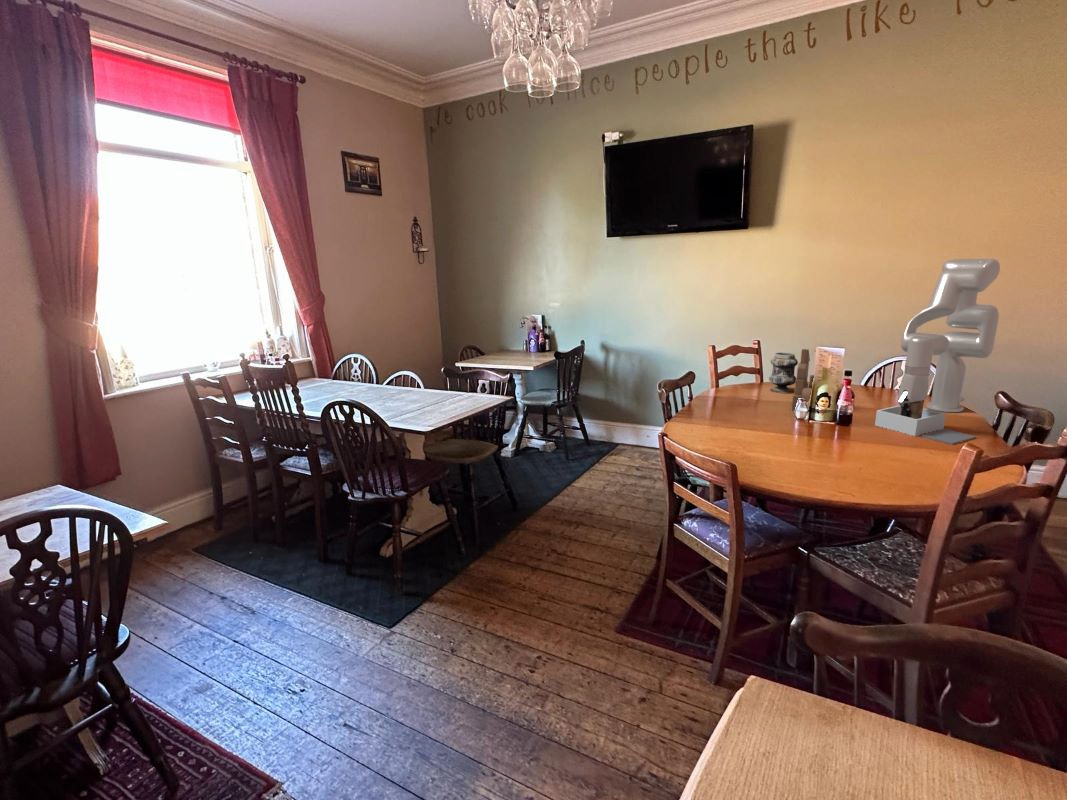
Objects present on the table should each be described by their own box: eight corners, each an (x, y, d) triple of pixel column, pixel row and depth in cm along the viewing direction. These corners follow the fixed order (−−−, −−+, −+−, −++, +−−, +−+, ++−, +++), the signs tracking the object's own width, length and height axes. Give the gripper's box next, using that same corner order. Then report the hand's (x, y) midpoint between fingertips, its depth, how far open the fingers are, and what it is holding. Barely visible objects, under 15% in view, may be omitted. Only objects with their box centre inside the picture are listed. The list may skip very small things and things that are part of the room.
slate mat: (944, 430, 197) (945, 428, 197) (976, 438, 188) (976, 436, 188) (920, 436, 191) (921, 435, 191) (951, 444, 182) (952, 443, 182)
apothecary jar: (799, 389, 260) (802, 352, 255) (790, 395, 251) (793, 356, 247) (773, 386, 268) (776, 350, 263) (763, 391, 259) (766, 354, 255)
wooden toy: (809, 412, 224) (815, 352, 217) (791, 410, 227) (797, 351, 221) (815, 403, 236) (821, 347, 229) (799, 402, 239) (804, 346, 233)
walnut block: (906, 419, 204) (909, 398, 202) (920, 422, 200) (923, 401, 198) (898, 421, 202) (901, 400, 200) (912, 424, 198) (915, 403, 196)
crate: (902, 418, 211) (905, 404, 210) (943, 428, 198) (946, 413, 197) (874, 425, 205) (876, 410, 203) (914, 436, 192) (917, 420, 190)
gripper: (921, 366, 203) (913, 413, 207) (891, 371, 196) (884, 419, 201) (942, 369, 196) (934, 418, 201) (913, 375, 189) (905, 425, 194)
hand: (909, 418), depth 201 cm, fingers closed on walnut block, 5 cm apart
